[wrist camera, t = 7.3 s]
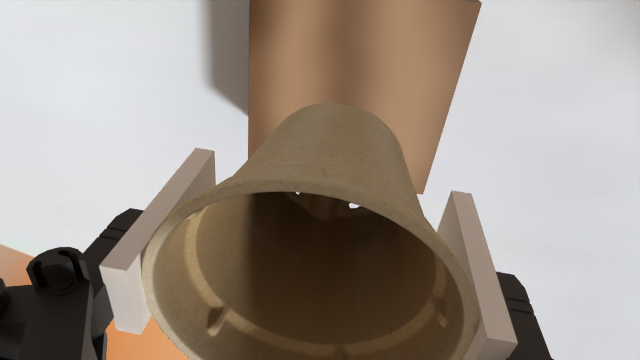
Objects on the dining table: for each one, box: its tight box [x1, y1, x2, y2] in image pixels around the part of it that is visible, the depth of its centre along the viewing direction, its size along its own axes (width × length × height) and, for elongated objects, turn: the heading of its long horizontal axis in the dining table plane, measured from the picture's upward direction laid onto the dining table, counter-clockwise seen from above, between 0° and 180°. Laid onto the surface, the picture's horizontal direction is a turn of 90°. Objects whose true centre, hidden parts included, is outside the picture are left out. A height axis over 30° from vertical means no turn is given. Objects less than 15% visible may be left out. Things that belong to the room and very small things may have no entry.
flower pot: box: [141, 102, 478, 360], centre depth 15 cm, size 9×9×9 cm
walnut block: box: [248, 0, 482, 194], centre depth 29 cm, size 13×13×6 cm
